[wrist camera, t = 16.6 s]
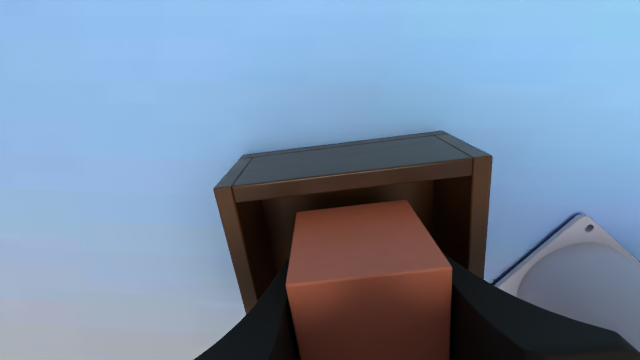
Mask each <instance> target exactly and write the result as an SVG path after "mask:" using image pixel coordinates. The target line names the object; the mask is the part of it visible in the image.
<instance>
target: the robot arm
mask: <svg viewBox="0 0 640 360" xmlns="http://www.w3.org/2000/svg"><path fill="white" fill-rule="evenodd" d="M587 225H588V226H587ZM586 226H587V228H585V227H586ZM443 254H444V253H443ZM444 256H445V257H446V259H447V260H448V262H449V263H450V265H451V266H452V295H451V326H450V357H449V358H450V360H640V263H639V262H638V261H637V260H636V259H635V258H634V257H633V256H632V255H631V254H630V253H628V252H627V251H626V250H625V249H624V248H623V247H622V246H621V245H620V244H619V243H618V242H617V241H615V240H614V239H613V238H612V237H611V236H610V235H609V234H608V233H607V232H606V231H605V230H603V229H602V228H601V227H600V226H599V225H598V224H597V223H596V222H595V221H594V220H593V219H592V218H590V217H588V216H587V215H585V214H580V215H577V216H575V217H574V218H573V219H572V220H571V221H569V222H568V223H567V224H566V225H565V226H563V227H562V228H561V229H560V230H559V231H558V232H556V233H555V234H554V235H553V236H552V237H550V238H549V239H548V240H547V241H546V242H544V243H543V244H542V245H541V246H540V247H539V248H537V249H536V250H535V251H534V252H533V253H531V254H530V255H529V256H528V257H527V258H526V259H524V260H523V261H522V262H521V263H520V264H518V265H517V266H516V267H515V268H514V269H512V270H511V271H510V272H509V273H508V274H507V275H505V276H504V277H503V278H502V279H501V280H499V281H498V282H497V283H496V284H495V285H492V284H490V283H488V282H486V281H485V280H483V279H481V278H480V277H478V276H476V275H475V274H473V273H471V272H470V271H468V270H467V269H465V268H464V267H462V266H461V265H459V264H458V263H456V262H455V261H454V260H452V259H451V258H449V257H448V256H447V255H445V254H444ZM288 266H289V259H286V261H285V262H284V264H283V265H282V267H281V269H280V270H279V272H278V273H277V275H276V277H275V278H274V280H273V281H272V283H271V284H270V286H269V287H268V288H267V290H266V291H265V293H264V294H263V295H262V296H261V298H260V299H259V300H258V302H257V303H256V304H255V305H254V307H253V308H252V309H251V310H250V311H249V312H248V314H247V315H246V316H245V317H244V318H243V319H242V320H241V321H240V322H239V323H238V324H237V325H236V326H235V327H234V328H233V329H231V330H230V331H229V332H228V333H227V334H226V335H225V336H224V337H223V338H221V339H220V340H219V341H218V342H217V343H215V344H214V345H213V346H212V347H210V348H209V349H208V350H206V351H205V352H204V353H202V354H201V355H200V356H198V357H197V358H195V359H194V360H300V356H299V351H298V346H297V341H296V335H295V330H294V325H293V320H292V315H291V310H290V305H289V300H288V295H287V290H286V279H287V273H288Z"/></svg>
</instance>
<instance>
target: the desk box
mask: <svg viewBox="0 0 640 360" xmlns="http://www.w3.org/2000/svg"><path fill="white" fill-rule="evenodd" d="M492 158H493V157H492V155H490V154H488V153H486V152H484V151H482V150H480V149H478V148H476V147H474V146H472V145H470V144H468V143H466V142H464V141H462V140H460V139H458V138H456V137H454V136H452V135H450V134H448V133H446V132H444V131H437V132H429V133H421V134H413V135H405V136H396V137H388V138H380V139H372V140H364V141H355V142H347V143H339V144H331V145H322V146H314V147H306V148H298V149H290V150H281V151H273V152H265V153H257V154H249V155H243V156H242V157H241V158H240V159H239V160H238V161H237V163H236V164H235V165H234V166H233V167H232V168H231V169H230V170H229V172H228V173H227V174H226V175H225V176H224V177H223V178H222V179H221V181H220V182H219V183H218V184H217V185H216V186H215V187H214V194H215V198H216V201H217V205H218V209H219V213H220V217H221V220H222V224H223V228H224V232H225V236H226V239H227V243H228V247H229V251H230V255H231V258H232V262H233V266H234V270H235V274H236V277H237V281H238V285H239V289H240V293H241V296H242V300H243V304H244V308H245V312H246V315H247V314H248V312H249V311H250V310H251V309H252V308H253V307H254V305H255V304H256V303H257V302H258V300H259V299H260V298H261V296H262V295H263V294H264V293H265V291H266V290H267V288H268V287H269V286H270V284H271V283H272V281H273V280H274V278H275V277H276V275H277V273H278V272H279V270H280V269H281V267H282V265H283V264H284V262H285V261H286V259H290V253H291V246H292V240H293V233H294V226H295V220H296V213H297V212H302V211H310V210H319V209H328V208H337V207H345V206H354V205H363V204H371V203H380V202H389V201H398V200H407V201H408V203H409V204H410V206H411V207H412V209H413V210H414V212H415V213H416V215H417V216H418V218H419V219H420V220H421V222H422V223H423V225H424V226H425V228H426V229H427V231H428V232H429V234H430V235H431V237H432V238H433V240H434V241H435V243H436V244H437V246H438V247H439V249H440V250H441V251H442V253H444V254H445V255H447V256H448V257H449V258H451V259H452V260H454V261H455V262H456V263H458V264H459V265H461V266H462V267H464V268H465V269H467V270H468V271H470V272H471V273H473V274H475V275H476V276H478V277H480V278H481V279H483V278H484V265H485V251H486V238H487V224H488V211H489V198H490V184H491V171H492Z"/></svg>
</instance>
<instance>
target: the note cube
mask: <svg viewBox="0 0 640 360" xmlns="http://www.w3.org/2000/svg"><path fill="white" fill-rule="evenodd" d="M286 290H287V295H288V300H289V305H290V310H291V315H292V320H293V325H294V330H295V335H296V341H297V346H298V351H299V356H300V360H449V357H450V326H451V295H452V266H451V265H450V263H449V262H448V260H447V259H446V257H445V256H444V254H443V253H442V251H441V250H440V249H439V247H438V246H437V244H436V243H435V241H434V240H433V238H432V237H431V235H430V234H429V232H428V231H427V229H426V228H425V226H424V225H423V223H422V222H421V220H420V219H419V218H418V216H417V215H416V213H415V212H414V210H413V209H412V207H411V206H410V204H409V203H408V201H407V200H398V201H389V202H380V203H371V204H363V205H354V206H345V207H337V208H328V209H319V210H310V211H302V212H297V213H296V220H295V226H294V233H293V240H292V246H291V253H290V259H289V266H288V273H287V279H286Z"/></svg>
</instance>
